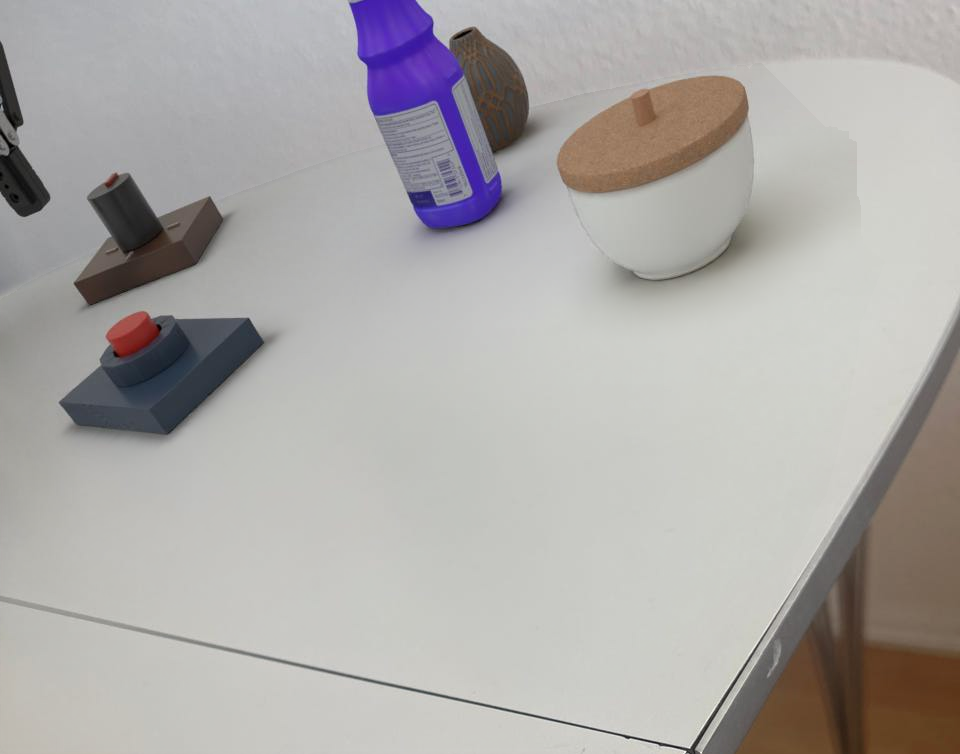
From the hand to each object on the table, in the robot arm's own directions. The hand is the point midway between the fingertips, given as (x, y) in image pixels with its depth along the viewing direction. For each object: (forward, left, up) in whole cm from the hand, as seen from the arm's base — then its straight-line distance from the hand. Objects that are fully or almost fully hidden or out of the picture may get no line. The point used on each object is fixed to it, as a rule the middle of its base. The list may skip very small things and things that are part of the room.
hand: (36, 209), depth 69 cm
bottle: (+25, +11, -15) cm, 31 cm away
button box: (+1, -1, -15) cm, 15 cm away
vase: (+27, +24, -15) cm, 39 cm away
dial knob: (-11, +28, -12) cm, 32 cm away
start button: (+1, -1, -11) cm, 11 cm away
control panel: (-11, +28, -15) cm, 33 cm away
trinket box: (+41, -7, -15) cm, 44 cm away
